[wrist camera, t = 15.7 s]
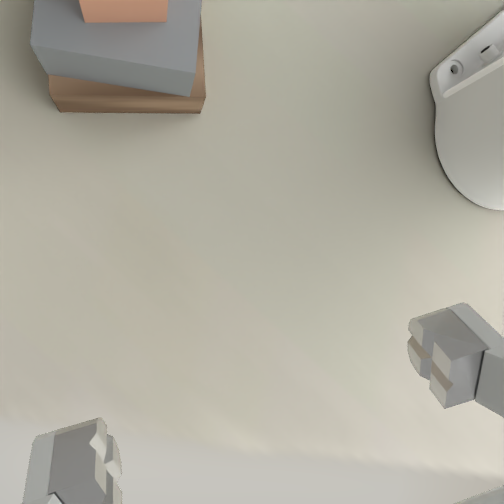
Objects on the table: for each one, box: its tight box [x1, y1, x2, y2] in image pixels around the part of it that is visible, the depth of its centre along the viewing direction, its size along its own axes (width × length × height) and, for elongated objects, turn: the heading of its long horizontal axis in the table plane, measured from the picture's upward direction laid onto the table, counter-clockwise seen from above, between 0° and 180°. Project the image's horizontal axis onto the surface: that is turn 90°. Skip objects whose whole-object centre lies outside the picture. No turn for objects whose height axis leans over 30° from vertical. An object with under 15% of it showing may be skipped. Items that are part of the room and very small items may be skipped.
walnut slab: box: [48, 15, 206, 114], centre depth 35 cm, size 11×11×4 cm
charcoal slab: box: [30, 0, 202, 97], centre depth 31 cm, size 10×10×4 cm
